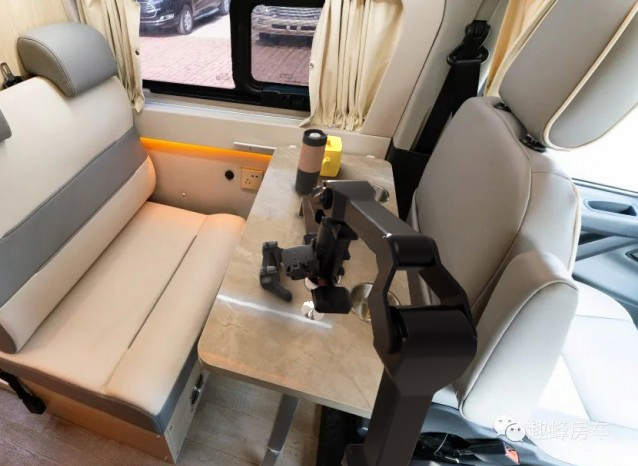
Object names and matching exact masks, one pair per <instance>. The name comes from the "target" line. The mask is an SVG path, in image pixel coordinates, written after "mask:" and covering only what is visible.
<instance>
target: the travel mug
mask: <svg viewBox="0 0 638 466" xmlns="http://www.w3.org/2000/svg"><path fill="white" fill-rule="evenodd" d="M328 136H329V134H328V133H325V132H324V131H323V130H322V129H318V128H308V129H306V130H304V131H303V133H302V138H301V145H300V150H299V155H298V161H297V168H296V175H295V183H294V189H295V191H296V192H298V193H300V194H302V195H309V194H310V193H311V192H312V190H313V189H315V188H316V187H318V184H319V178H320V176H321V175H320V171H321V167H322V162H323V158H324V153H325V148H326V143H327V139H328Z"/></svg>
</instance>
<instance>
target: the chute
mask: <svg viewBox="0 0 638 466" xmlns="http://www.w3.org/2000/svg"><path fill="white" fill-rule="evenodd" d="M298 216H299V217H303V224H304V232H305V233H304V234H305V235H306V234H308V233H318V232H319V228H320V224H318V223H316V222H315V219H314V216H313V213H312V210H311V207H310V204H309V201H308V196H301V199H300V205H299V210H298Z"/></svg>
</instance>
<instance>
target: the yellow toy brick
mask: <svg viewBox="0 0 638 466" xmlns="http://www.w3.org/2000/svg"><path fill="white" fill-rule="evenodd" d="M342 147H343V146H342V140H341V137H339V136H331V135H328V139H327V143H326V148H325V153H324V158H323V162H322V167H321V171H320V175H319V176H322V177H334V178H335V177H336V176H337V175H338V173H339V171H340V167H341V163H342V153H343V151H342V150H343V148H342Z"/></svg>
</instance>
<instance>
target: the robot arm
mask: <svg viewBox="0 0 638 466" xmlns="http://www.w3.org/2000/svg"><path fill="white" fill-rule="evenodd" d="M376 196H377V190H376V189H375V187H374V186H372V184H371V183H370V182H369V181H368V180H367V179H351V180H350V179H349V180H348V179H346V180H345V179H341V180H338V179H337V180H336V179H335V180H333V179H331V180H330V179H329V180H321V184H320V185H319V186H317V187H316V188H315V189H313V190H312V192H311V193H310V194H308V196H307V197H308V201H309V204H310V207H311V210H312V213H313V216H314V219H315V222H316V223H318V224H320V228H319V232H318V233H308V234H306V233H305V234H304V235H303V236H302V242H301V243H302V244H300V245H295V246H291V247H285V248H283V249H284V250H282V262H283V263H282V266H283V269H284V273H285V277H287V278H290V280H291V281H293V282H296V281H303V280H304V279H306V278H307V273H310V272H311V276H312V277H317V278H318V279H324V284H325V285H323V286H318V287H316V288H314V289H311V294H310V295H311V300H312V302H313V303H314V309H315V311H316V312H318V313H324V314H327V315H328V314H331V315H349V314H350V312H351V311H352V308H353V306H354V305H353V300H352V298H351V294H350V291H349V289H348V288H347V287H345V286H343V285H341V284H338V280H337V277H336V276H341V277H344V276H345V274H346V270H345V267H344V264H345V262H346V261H348V262H349V261H350V260H351V258H352V256H351V253H350V250H349V249H350V246H351V243H352V242H353V241H358V240H359V239H360V240H361V241H362V242H363V243H364V244H365V245H366V246H367V248H368V249H369V250H370V251H371V252H372V253H373V255H374V256H375V262H376V268H377V274H376V276H375V279H374V282H373V283H372V287H371V289H370V291H369V293H368V296H367V306H368V313H369V318H370V325H371V331H372V337H373V339H372V347H373V348H374V350H375V353H376V355H377V356H378V358H379V360H380V362H381V364H382V366H383V367H382V368H383V369H382V374H381V377H380V381H379V385H378V389H377V393H376V397H375V400H374V404H373V407H372V408H373V409H372V411H371V416H370V419H369V423H368V426H367V430H366V434H365V438H364V442H363V443H348V444H347V445H346V446H345V447H344V449H343V450H344V451H343V458H342V459H341V461H340V464H341V465H342V466H409V464H410V461H411V460H412V456H413V453H414V450H415V449H416V445H417V443H418V440H419V438H420V435H421V432H422V429H423V426H424V424H425V421H426V418H427V415H428V412H429V410H430V407H431V404H432V402H433V399H434V396H435V394H436V393H438V392H439V391H441V390H442V389H444V388H446V387H448V386H449V385H451V384H453V383H454V382H456V381H457V380H459V379H461V378H462V377H463V376H464V374H465V373H466V371H467V370H468V368H469V367H470V365H472V363H473V361H474V360H475V358H476V356H477V354H478V349H479V336H478V335H479V334H478V329H477V327H476V323H475V319H474V315H473V312H472V308H471V304H470V301H469V298H468V297H469V296H468V294H467V292H466V290H465V289H464V288H463V286H462V285H461V284H460V283H459V282H458V280H456V278H455V277H454V276H453V275H452V273H451V272H449V270H448V269H447V268H446V267H445V265H444V264H443V263H442V259H441V255H440V251H439V247H438V245H437V242H436V240H435V239H434V238H433V237H432V236H429V235H427V234H424V233H421V232H418V231H417V230H416V229H415V228H413V227H412V226H411V225H410V224H408V223H406V221H404V220H403V219H401V218H400V217H399V216H397V215H396V214H395V213H393V212H392V211H390V209H388V208H387V207H385V206H384V205H382V203H380V202H378V201H377V200H376ZM408 271H409V272H414V271H415V272H417V273H418V276H419V277H420V278H421V279H422V280H423V281H424V282H425V284H426V285H427V286H428V288H429V289H430V290H431V291H432V292H433V294H434V295H435V296H436V298H437V299H438V300H439V304H390V302H389V297H388V294H389V291H390V288H391V286H392V284H393V281H394V278H395V275H396V273H397V272H408Z"/></svg>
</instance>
